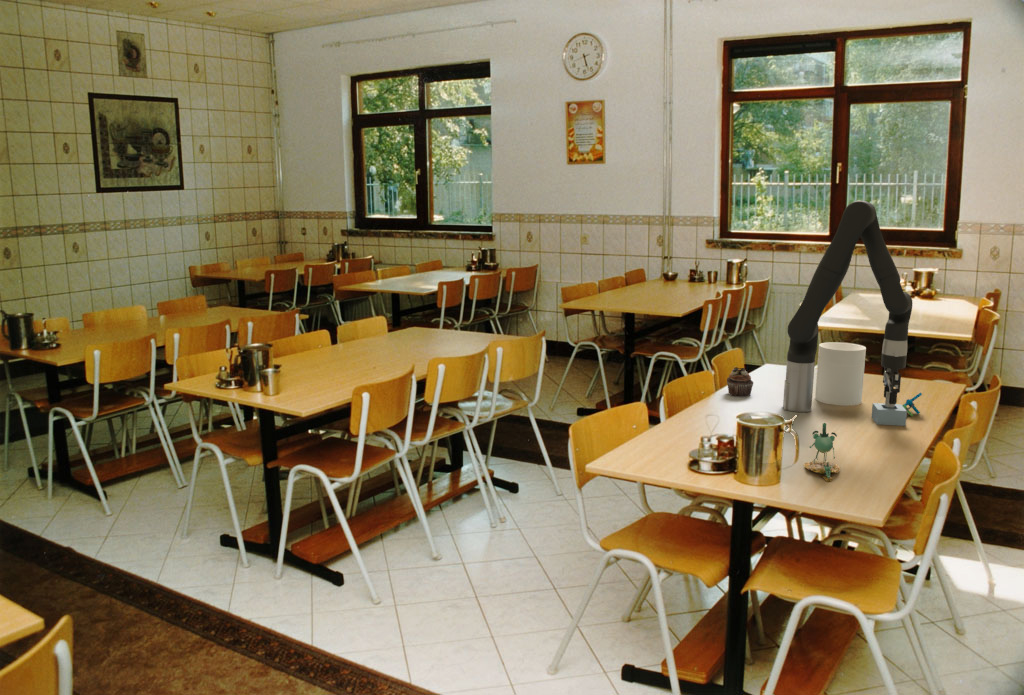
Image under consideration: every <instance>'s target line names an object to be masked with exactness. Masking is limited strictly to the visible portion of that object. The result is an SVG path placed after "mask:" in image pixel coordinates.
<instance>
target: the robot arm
mask: <svg viewBox="0 0 1024 695" xmlns="http://www.w3.org/2000/svg"><path fill="white" fill-rule="evenodd" d="M860 239H861V241H862V243H863V245H864V248H865V251H866V254H867V259H868V262H869V266H870V269H871V271H872V274H873V277H874V278H875V280H876V283H877V284H878V287H879V290H880V295H881V299H882V301H883V304H884V307H885V308H886V310H887V311H888V318H887V319H888V320H887V322H886V324H885V327H884V328H885V329H884V333H883V334H884V336H883V342H882V350H881V360H880V366H881V367H883V369H884V370H883V378H882V379H883V380H882V384H883V386H884V390H883V397H884V398H885V399H886V392H887V391H890V395H889V403H890V404H897V402H898V393H900V392H901V382H902V380H901V379H902V374H900V373H899V370H902V369H905V368H906V366H907V355H908V354H907V353H908V337H909V324H910V320H911V315H912V311H913V298H912V296H911V295H910V294H909V293H907V292H905V291H904V289H903V287H902V284H901V276H900V272H899V271H898V269H897V267H896V264H895V262H894V260H893V257H892V256H891V253H890V251H889V248H888V247H887V244H886V241H885V239H884V237H883V234H882V230H881V227H880V224H879V219H878V215H877V210H876V208H875V206H874V205H873V203H871V202H869V201H867V200H855V201H852V202H851V203H849V204H848V205H846V207H845V209H844V211H843V213H842V216H841V219H840V221H839V224H838V226H837V230H836V233H835V234H834V236H833V238H832V241H831V242H830V244H829V245H828V247H827V248H826V251H825V252H824V254H823V256H822V257H821V259H820V261H819V264H818V266H817V267H816V269H815V271H814V273H813V275H812V278H811V279H810V282H809V285H808V287H807V290H806V293H805V295H804V298H803V299H802V302H801V304H800V306H799V307H798V309H797V310H796V312H795V314H794V315H793V316H792V318H791V320H790V321H789V322H788V325H787V336H788V337H789V346H788V351H787V353H786V368H785V370H786V371H785V380H784V386H783V400H782V401H783V403H782V406H783V408H784V409H783V410H784V411H788V412H789V411H790V412H797V413H806V412H811V411H812V405H813V391H814V380H815V379H814V378H815V377H814V375H815V366H816V365H815V364H816V355H817V350H818V338H819V320H820V319H821V315H822V314H823V313H824V312H823V311H824V309H825V308H826V307H827V305H828V304H829V303H830V301H831V300H832V299H833V297H834V296H835V294H836V293H837V291H838V290H839V288H840V286H841V284H842V282H843V280H844V279H845V277H846V275H847V273H848V270H849V268H850V265H851V261H852V256H853V255H854V250H855V248H856V245H857V243H858V241H859V240H860Z"/></svg>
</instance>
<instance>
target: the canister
mask: <svg viewBox="0 0 1024 695" xmlns="http://www.w3.org/2000/svg"><path fill="white" fill-rule="evenodd" d="M866 351H867V347H866V346H865V345H862V344H857V343H851V342H841V341H840V342H839V341H838V342H837V341H836V342H835V341H834V342H830V341H829V342H822V343H819V344H818V355H817V356H818V358H817V366H816V367H817V369H816V378H815V379H816V383H815V392H814V393H815V395H814V396H815V397H814V398H815V400H816V401H817V402H819V403H822V404H823V403H824V404H827V405H833V406H834V405H835V406H843V407H845V406H849V405H850V406H858V405H860V404H862V402H863V401H862V400H863V392H864V391H863V389H864V377H865V364H866V362H865V361H866V354H867V352H866Z"/></svg>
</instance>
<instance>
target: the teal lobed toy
mask: <svg viewBox="0 0 1024 695" xmlns="http://www.w3.org/2000/svg"><path fill="white" fill-rule="evenodd" d="M922 395H923V394H922V392H919V393H918V394H916V395H915V396H914V397H911V398H910V399H908V398H907V399H906V400H905V403H904V404H901V405H902V406H903V407H904V408H905V409H906V411H907V414H908V415H910V417H913V416H914V414H913V413H912V412H911V411H910V409H913V411H914V412H915V413H916V415H919V414H920V413H921V412H920V411H919V410H918V408H917V407H916V405H915V403H914V401H916V400H917V399H918V398H919V397H921V396H922ZM907 406H908V407H907Z"/></svg>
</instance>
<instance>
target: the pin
mask: <svg viewBox="0 0 1024 695" xmlns="http://www.w3.org/2000/svg"><path fill="white" fill-rule="evenodd" d="M889 395H890V391H887V392H886V398H885V401H884V404H885V408H889V409H895V404H890V403H889Z"/></svg>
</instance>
